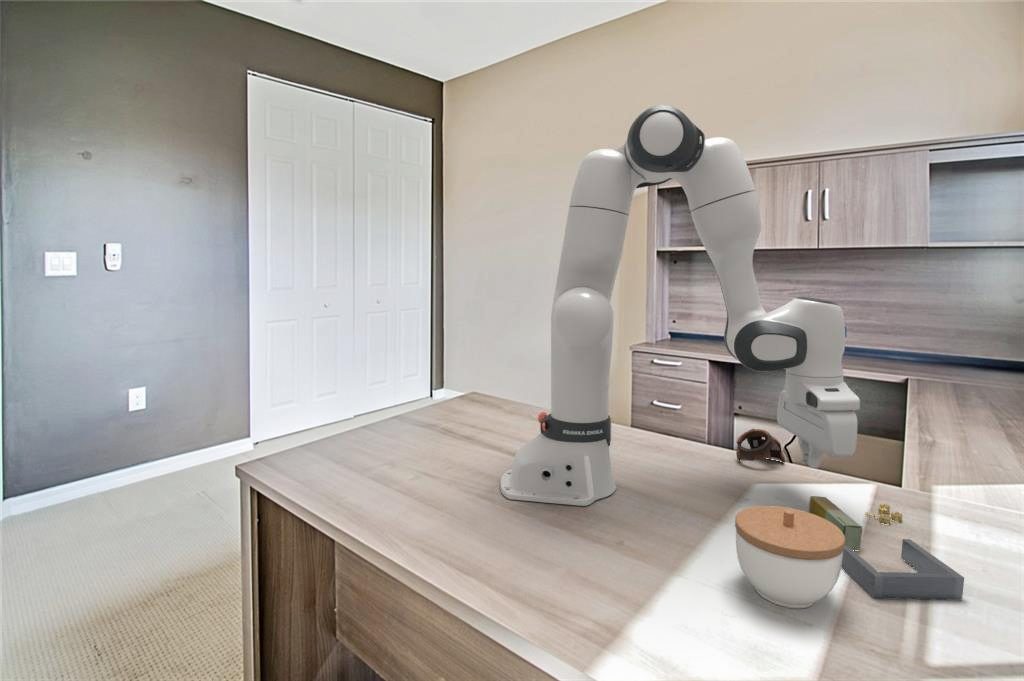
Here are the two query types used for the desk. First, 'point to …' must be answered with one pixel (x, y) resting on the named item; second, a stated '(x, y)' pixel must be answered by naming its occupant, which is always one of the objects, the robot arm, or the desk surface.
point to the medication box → (837, 520)
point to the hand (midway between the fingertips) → (810, 465)
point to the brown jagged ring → (759, 446)
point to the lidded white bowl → (788, 554)
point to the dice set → (886, 514)
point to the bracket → (906, 576)
